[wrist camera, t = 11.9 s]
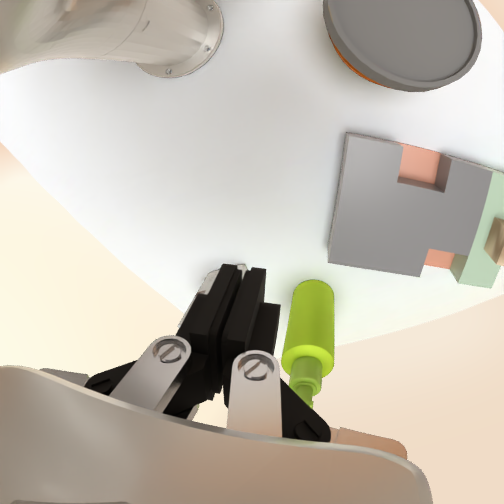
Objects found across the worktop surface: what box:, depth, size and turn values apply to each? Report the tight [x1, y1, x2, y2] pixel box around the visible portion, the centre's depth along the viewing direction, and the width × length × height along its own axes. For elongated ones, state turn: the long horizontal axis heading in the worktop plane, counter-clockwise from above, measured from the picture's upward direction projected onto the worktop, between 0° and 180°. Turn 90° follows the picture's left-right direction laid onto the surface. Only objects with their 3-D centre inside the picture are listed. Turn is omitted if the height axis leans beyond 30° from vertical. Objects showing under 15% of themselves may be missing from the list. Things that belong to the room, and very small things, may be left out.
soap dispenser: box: [281, 280, 334, 409], centre depth 36 cm, size 6×7×20 cm
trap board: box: [328, 132, 504, 288], centre depth 34 cm, size 15×24×4 cm, turn 86°
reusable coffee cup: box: [323, 0, 482, 92], centre depth 22 cm, size 13×12×15 cm
